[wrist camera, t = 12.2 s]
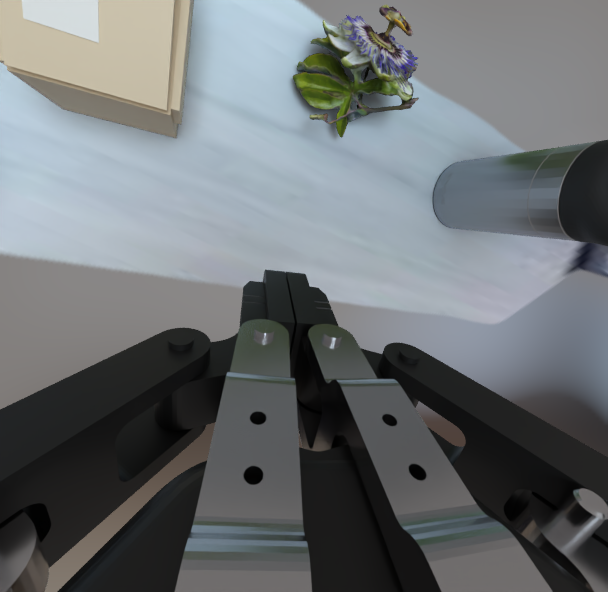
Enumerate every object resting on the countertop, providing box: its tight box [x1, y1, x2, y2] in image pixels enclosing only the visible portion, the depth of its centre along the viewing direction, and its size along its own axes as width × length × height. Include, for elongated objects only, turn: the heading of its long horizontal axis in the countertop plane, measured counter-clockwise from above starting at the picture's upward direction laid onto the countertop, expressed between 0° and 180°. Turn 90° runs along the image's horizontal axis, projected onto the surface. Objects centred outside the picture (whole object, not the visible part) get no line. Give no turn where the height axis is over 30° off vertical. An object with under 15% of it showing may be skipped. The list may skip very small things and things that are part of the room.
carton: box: [0, 0, 194, 138], centre depth 26 cm, size 11×12×11 cm
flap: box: [0, 0, 175, 110], centre depth 21 cm, size 10×8×1 cm
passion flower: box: [293, 5, 418, 137], centre depth 35 cm, size 11×11×12 cm
